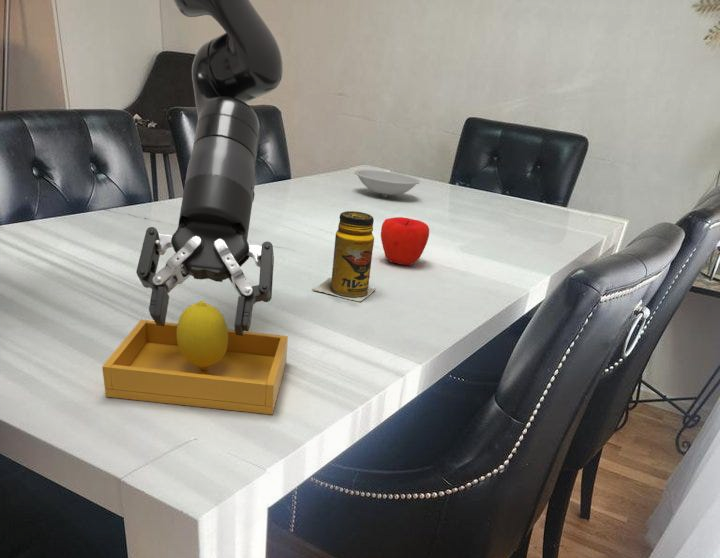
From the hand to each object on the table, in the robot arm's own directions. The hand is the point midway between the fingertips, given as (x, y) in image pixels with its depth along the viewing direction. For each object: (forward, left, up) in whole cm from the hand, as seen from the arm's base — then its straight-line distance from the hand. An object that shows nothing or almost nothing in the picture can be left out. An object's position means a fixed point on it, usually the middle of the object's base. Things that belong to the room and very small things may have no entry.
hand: (199, 328), depth 69 cm
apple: (+25, +58, -7) cm, 64 cm away
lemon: (0, +1, -6) cm, 6 cm away
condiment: (+15, +38, -7) cm, 42 cm away
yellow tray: (0, +1, -7) cm, 7 cm away
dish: (+23, +120, -7) cm, 123 cm away
